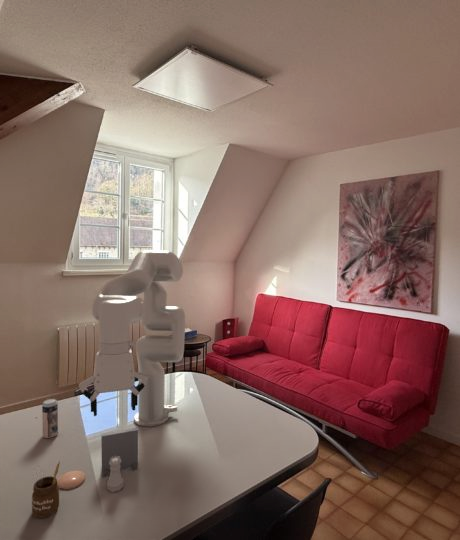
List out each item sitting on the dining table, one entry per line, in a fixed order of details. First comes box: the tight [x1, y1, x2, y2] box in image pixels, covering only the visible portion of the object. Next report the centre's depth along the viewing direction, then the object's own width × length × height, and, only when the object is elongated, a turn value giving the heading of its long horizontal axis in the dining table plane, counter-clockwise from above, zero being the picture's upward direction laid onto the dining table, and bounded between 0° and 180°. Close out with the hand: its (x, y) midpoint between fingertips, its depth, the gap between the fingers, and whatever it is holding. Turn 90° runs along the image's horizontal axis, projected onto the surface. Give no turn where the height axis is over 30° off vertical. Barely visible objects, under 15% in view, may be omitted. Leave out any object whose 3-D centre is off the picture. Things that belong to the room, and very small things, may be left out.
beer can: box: [41, 398, 59, 439], centre depth 123 cm, size 5×5×12 cm
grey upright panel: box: [100, 427, 139, 478], centre depth 106 cm, size 10×5×11 cm, turn 112°
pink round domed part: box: [57, 470, 86, 490], centre depth 100 cm, size 7×7×1 cm
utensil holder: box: [31, 461, 61, 519], centre depth 89 cm, size 6×6×12 cm
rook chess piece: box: [106, 456, 125, 493], centre depth 98 cm, size 4×4×8 cm
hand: (114, 411), depth 96 cm, fingers open, 9 cm apart
